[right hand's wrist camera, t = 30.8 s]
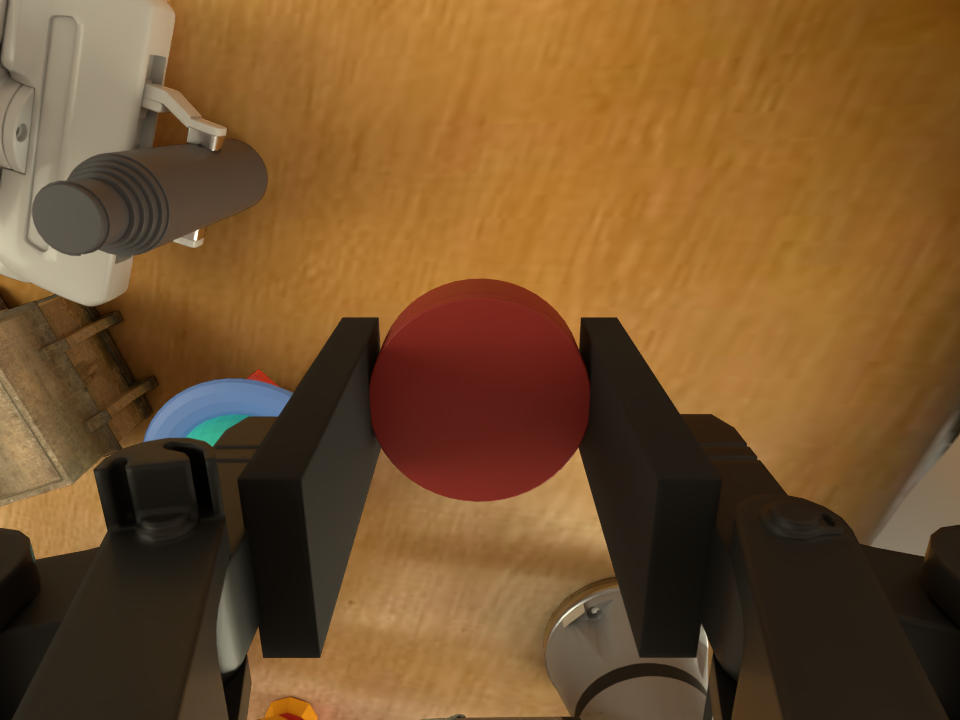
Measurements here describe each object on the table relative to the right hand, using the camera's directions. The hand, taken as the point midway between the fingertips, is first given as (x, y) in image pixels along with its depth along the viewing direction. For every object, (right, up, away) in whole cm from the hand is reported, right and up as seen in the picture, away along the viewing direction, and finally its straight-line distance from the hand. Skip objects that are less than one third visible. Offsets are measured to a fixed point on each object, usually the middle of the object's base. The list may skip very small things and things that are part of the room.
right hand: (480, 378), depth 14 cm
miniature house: (-35, 0, +40) cm, 53 cm away
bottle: (-18, +14, +35) cm, 42 cm away
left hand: (-17, +12, +29) cm, 36 cm away
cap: (0, 0, -1) cm, 1 cm away
